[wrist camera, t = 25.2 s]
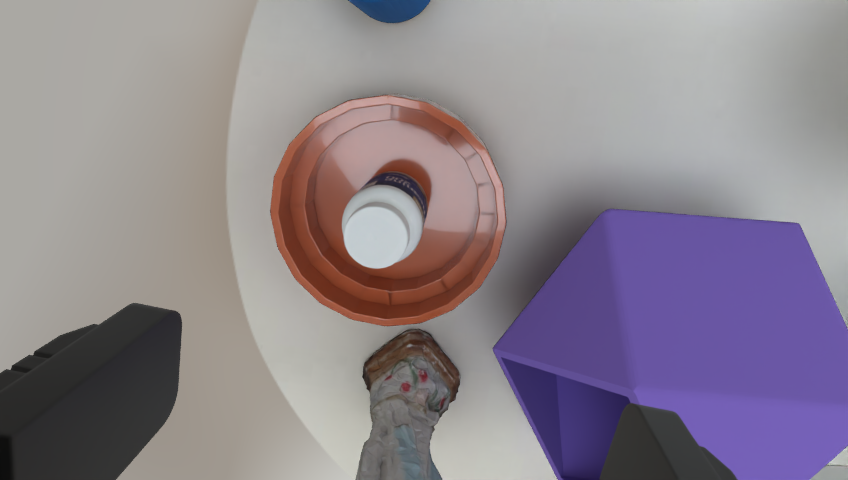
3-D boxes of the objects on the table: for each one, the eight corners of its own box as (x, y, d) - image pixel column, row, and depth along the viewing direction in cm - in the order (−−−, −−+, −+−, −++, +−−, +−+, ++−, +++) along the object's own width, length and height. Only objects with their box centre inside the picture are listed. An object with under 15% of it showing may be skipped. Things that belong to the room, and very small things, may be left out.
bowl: (285, 273, 45) (260, 301, 39) (309, 76, 40) (284, 74, 34) (474, 311, 45) (477, 345, 39) (520, 117, 40) (530, 122, 34)
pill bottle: (442, 205, 41) (438, 240, 32) (393, 250, 43) (375, 296, 33) (394, 155, 41) (375, 176, 31) (345, 201, 42) (313, 235, 33)
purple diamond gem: (510, 200, 46) (406, 327, 29) (776, 111, 35) (841, 234, 19) (604, 410, 51) (559, 618, 34) (862, 389, 40) (971, 676, 24)
